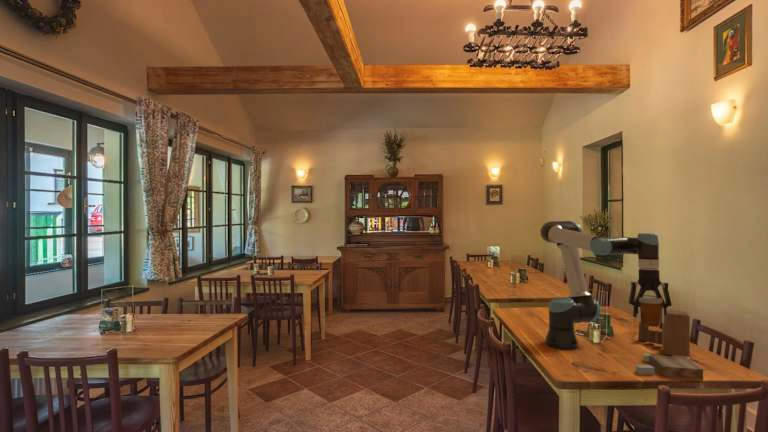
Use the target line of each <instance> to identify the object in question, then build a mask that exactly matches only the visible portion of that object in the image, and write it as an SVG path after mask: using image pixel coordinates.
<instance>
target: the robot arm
mask: <svg viewBox="0 0 768 432" xmlns="http://www.w3.org/2000/svg"><path fill="white" fill-rule="evenodd" d="M540 237H541V238H542V240H543V241H545V242H548V243H551V244H556V247H557V248H558V249H560V253H561V257H562V261H563V265H564V270H565V275H566V280H567V284H568V290H569V295H568V296H565V297H564V296H563V297H559V296H558V297H555V298H552V299H550V300H549V301H548V303H549V304H548V324H549V325H548V331H547V333H546V336H545V344H546V345H547V347H551V348H554V349H560V350H574V349H578V348H579V341H578V338H577V336H576V333H575V324H580V323H590V322H595V321H596V320H597V319H598V318H599V317H600V314H601V306H600V304H599V302H598V301H597V300H596V299H595V298H593V294H592V293H590V292H589V291H588V287H587V281H586V278H585V273H584V268H583V263H582V261H581V260H582V259H581V255H580V250H579V249H582V250H586V251H589V252H592V253H593V254H594V255H596V256H597V255H598V256H607V255H609V256H610V255H637V264H638V266H637V267H638V268H639V269H638V280H637V281H630V287H631V288H630V292H629V300H628V305H631V306H633V313H634V314H636V321H637V322H638V323H639V322H641V311H640V306H639V303H640V302H639V297H643V295H645V293H646V292H649V291H651V292H654V294H655V296H657V298H662V301H663V302H662V306H661V315H660V323H661V324H662V323H664V315H666V314H667V313H666V309H667V308H668V307H672V301H671V297H670V292H669V291H670V290H669V283H668V282H666V281H664V282H663V281H661V280H660V277H661V276H660V270H659V268H660V257H659V255H660V253H659V252H660V251H659V249H660V248H659V247H660V241H659V236H658V234H657V233H655V232H651V233H650V232H649V233H647V232H645V233H643V232H641V233H638V234H637V237H627V236H617V237H604V236H599V235H595V234H590V233H585V232H583V228H582V227H581V225H580V224H579V223H577V222H576V221H572V220H571V221H570V220H561V221H560V220H558V221H557V220H556V221H555V220H552V221H551V220H550V221H547V222H546V223H544V224H543V225H541V228H540ZM638 286H640V288H639V292H638V293H637V295H636V291H637V287H638ZM659 287H662V292H663V296H664V298H663V296H662V294H661V293H660V290H659Z"/></svg>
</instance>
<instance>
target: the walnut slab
mask: <svg viewBox="0 0 768 432" xmlns="http://www.w3.org/2000/svg"><path fill="white" fill-rule="evenodd" d="M649 365H651V366H652V367H654V368H655V370H656V371H657V372H658V373H659V374H660V375H661V376H663V377H669V378H679V377H680V378H681V379H694V380H704V369H703V368H701V367H700V366H699V365H697V364H696V363H695V362H693V361H692V360H691V359H690V360H689V359H687V358H686V357H673V356H669V355H660V354H659V355H658V354H651V355H650V362H649Z"/></svg>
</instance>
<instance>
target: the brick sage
mask: <svg viewBox="0 0 768 432" xmlns="http://www.w3.org/2000/svg"><path fill="white" fill-rule="evenodd" d="M650 355H652V354H649V353H643V362H646V363H650Z"/></svg>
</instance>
